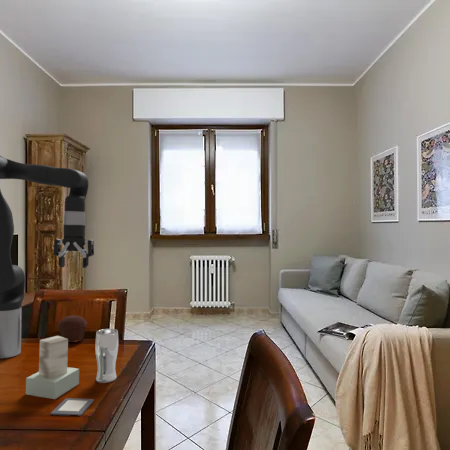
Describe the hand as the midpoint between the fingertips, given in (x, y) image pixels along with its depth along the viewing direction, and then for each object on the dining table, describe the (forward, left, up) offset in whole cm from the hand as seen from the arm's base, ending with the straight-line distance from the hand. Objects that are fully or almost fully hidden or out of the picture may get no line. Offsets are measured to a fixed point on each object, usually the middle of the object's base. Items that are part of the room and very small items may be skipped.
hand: (73, 267), depth 131 cm
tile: (+18, -36, -33) cm, 52 cm away
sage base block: (+7, -26, -33) cm, 43 cm away
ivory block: (+7, -26, -28) cm, 39 cm away
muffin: (-9, +19, -33) cm, 39 cm away
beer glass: (+20, -18, -33) cm, 43 cm away
